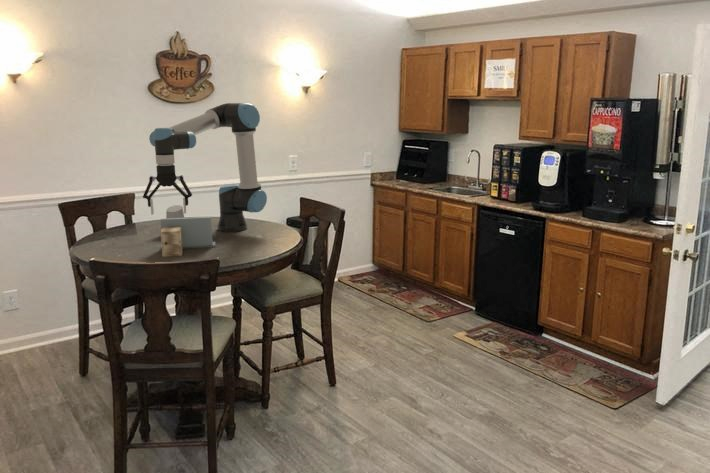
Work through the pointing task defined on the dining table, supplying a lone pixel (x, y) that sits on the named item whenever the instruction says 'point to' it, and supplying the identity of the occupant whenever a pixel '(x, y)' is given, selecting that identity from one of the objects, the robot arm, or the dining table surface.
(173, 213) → the smart speaker
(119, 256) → the dining table surface
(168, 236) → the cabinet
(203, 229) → the wall board
